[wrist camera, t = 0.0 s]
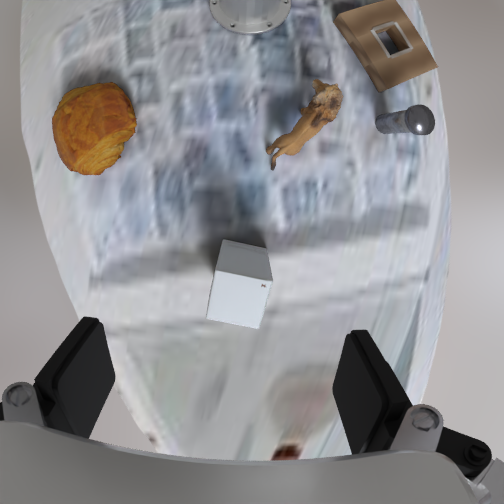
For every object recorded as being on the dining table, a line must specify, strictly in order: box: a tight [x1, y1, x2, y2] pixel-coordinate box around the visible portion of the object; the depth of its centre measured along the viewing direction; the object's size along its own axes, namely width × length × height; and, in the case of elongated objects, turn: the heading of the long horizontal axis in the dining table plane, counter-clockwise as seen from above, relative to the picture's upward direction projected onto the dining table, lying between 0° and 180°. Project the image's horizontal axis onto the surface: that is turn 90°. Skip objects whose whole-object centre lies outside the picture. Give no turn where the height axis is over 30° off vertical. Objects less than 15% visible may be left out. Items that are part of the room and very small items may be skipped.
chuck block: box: [333, 0, 438, 92], centre depth 36 cm, size 14×12×4 cm
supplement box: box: [206, 239, 273, 329], centre depth 43 cm, size 7×7×13 cm
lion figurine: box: [266, 79, 343, 171], centre depth 39 cm, size 15×5×9 cm, turn 148°
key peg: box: [375, 105, 435, 135], centre depth 37 cm, size 4×4×12 cm
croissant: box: [52, 82, 137, 175], centre depth 39 cm, size 14×16×8 cm
